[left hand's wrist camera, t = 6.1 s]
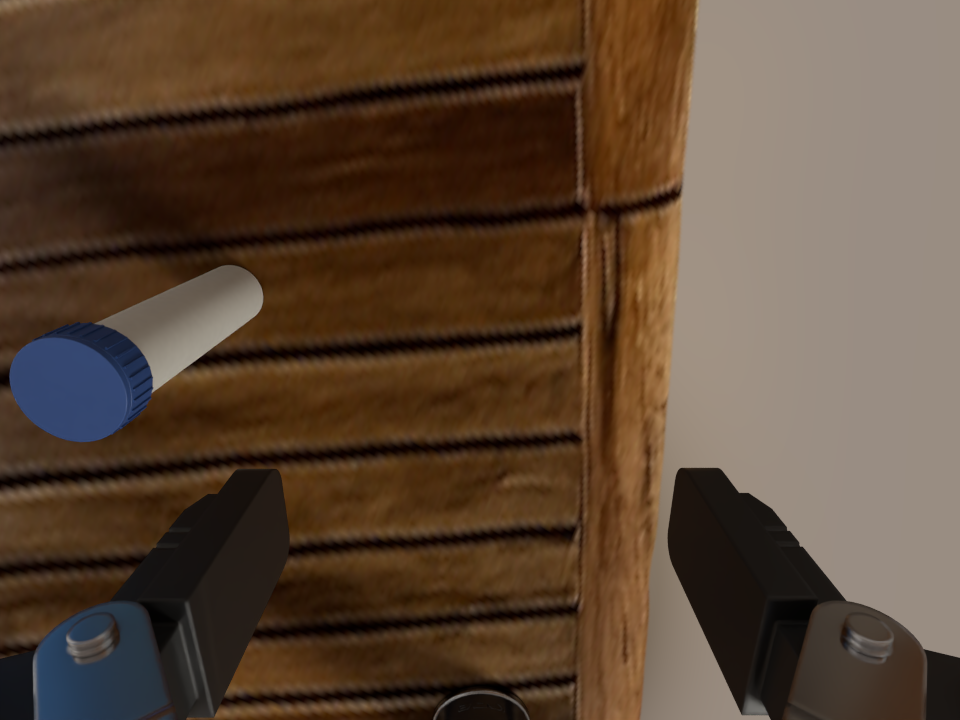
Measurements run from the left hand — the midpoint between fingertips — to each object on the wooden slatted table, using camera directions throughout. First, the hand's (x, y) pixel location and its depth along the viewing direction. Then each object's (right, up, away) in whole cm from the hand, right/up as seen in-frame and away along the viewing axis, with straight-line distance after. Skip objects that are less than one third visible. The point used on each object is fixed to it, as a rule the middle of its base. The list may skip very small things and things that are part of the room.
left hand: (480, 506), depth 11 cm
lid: (-17, +2, +13) cm, 22 cm away
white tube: (-17, +8, +28) cm, 34 cm away
